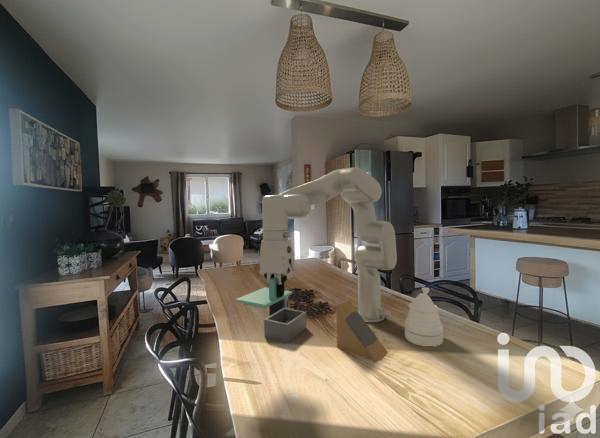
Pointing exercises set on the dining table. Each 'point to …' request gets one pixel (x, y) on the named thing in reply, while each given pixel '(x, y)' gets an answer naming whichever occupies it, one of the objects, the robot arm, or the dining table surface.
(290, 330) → the tub
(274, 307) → the small box
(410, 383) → the dining table surface
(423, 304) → the honey pot
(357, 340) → the sandwich container
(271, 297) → the lid
